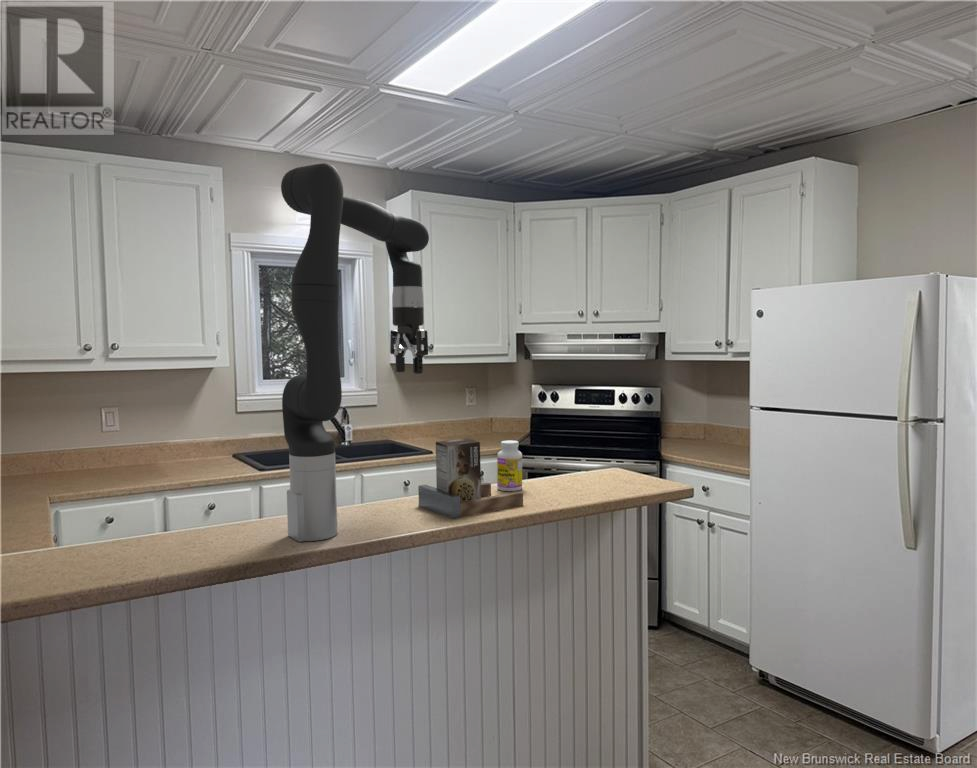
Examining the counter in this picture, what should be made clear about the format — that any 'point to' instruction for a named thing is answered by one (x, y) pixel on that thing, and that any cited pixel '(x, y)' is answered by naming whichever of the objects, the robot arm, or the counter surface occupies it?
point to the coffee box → (459, 468)
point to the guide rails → (490, 502)
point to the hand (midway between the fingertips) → (409, 372)
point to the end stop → (439, 501)
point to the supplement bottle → (509, 466)
